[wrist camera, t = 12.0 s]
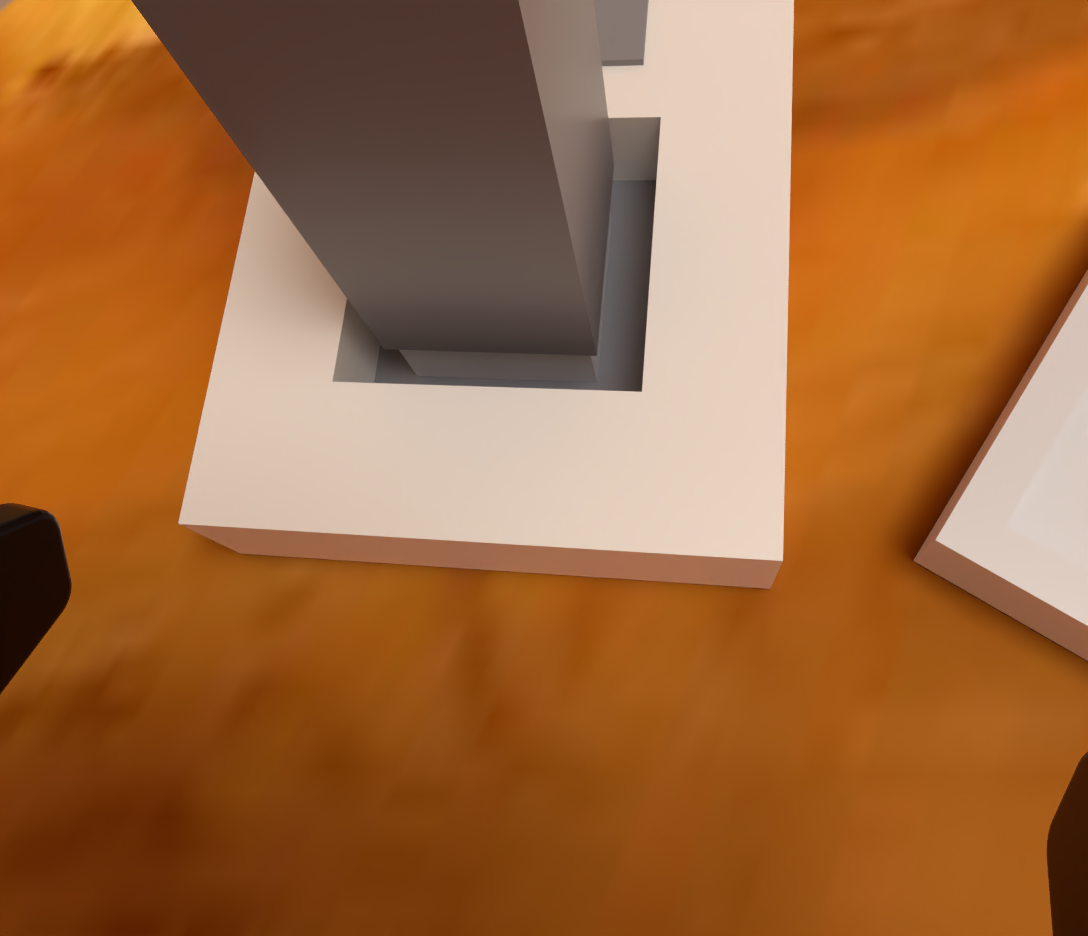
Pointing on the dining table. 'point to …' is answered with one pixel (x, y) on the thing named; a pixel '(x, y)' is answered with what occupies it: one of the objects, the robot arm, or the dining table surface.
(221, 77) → the plug
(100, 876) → the dining table surface
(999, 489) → the tray
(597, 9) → the power strip
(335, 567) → the dining table surface
